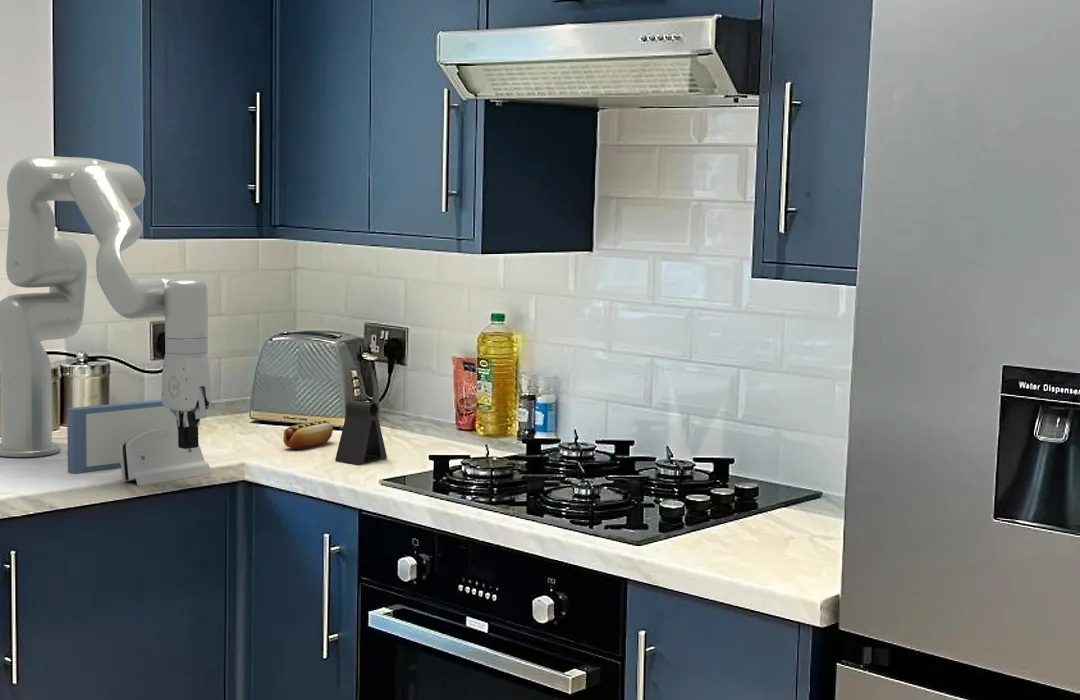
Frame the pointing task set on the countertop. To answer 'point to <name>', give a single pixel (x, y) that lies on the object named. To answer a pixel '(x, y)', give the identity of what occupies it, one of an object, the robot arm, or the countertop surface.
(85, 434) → the cabinet side
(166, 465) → the hinge
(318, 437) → the hot dog
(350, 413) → the dark grey a-frame stand
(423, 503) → the countertop surface
